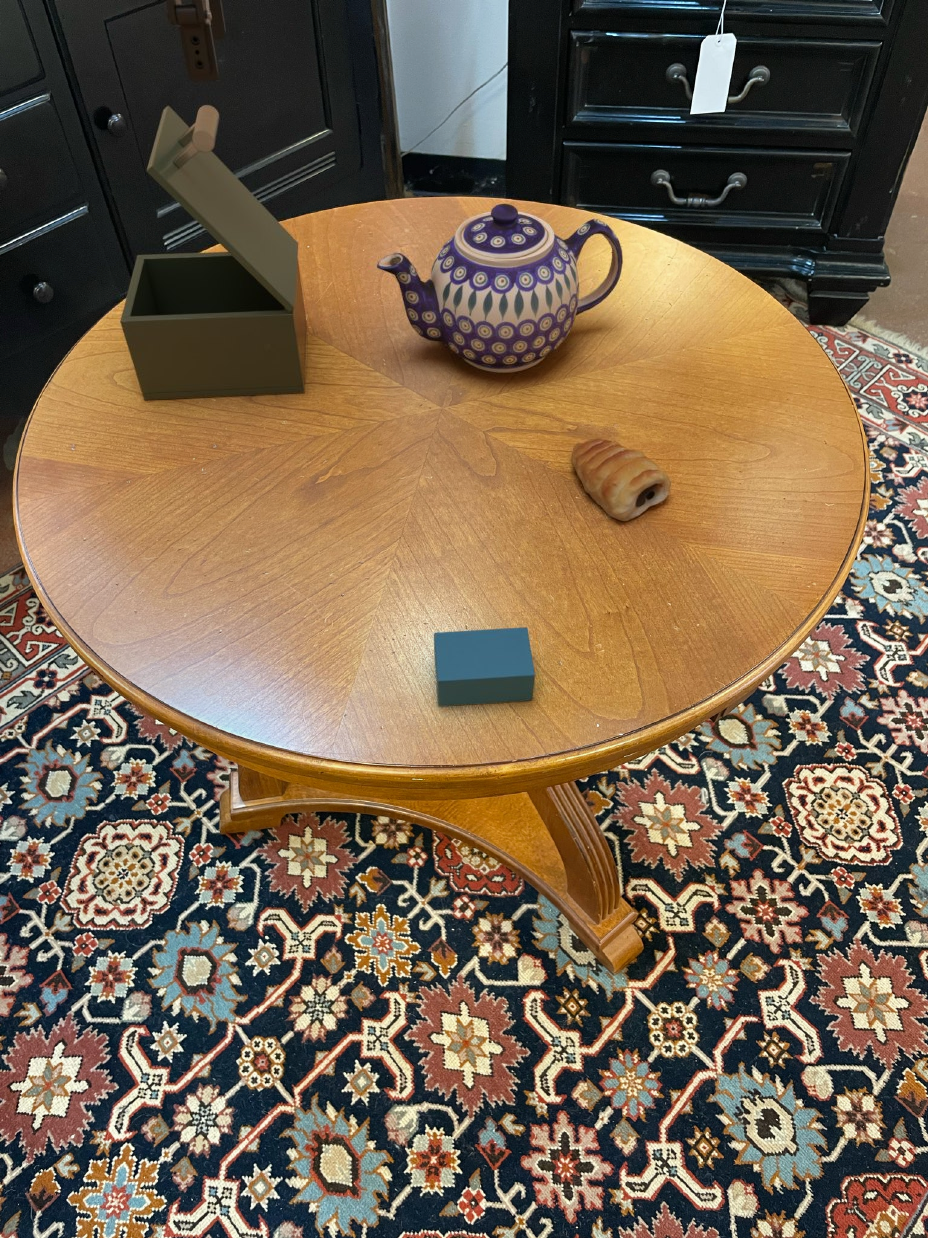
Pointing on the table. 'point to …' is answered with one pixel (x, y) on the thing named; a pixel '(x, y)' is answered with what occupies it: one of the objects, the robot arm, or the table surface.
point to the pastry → (619, 477)
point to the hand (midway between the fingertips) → (208, 58)
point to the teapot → (502, 288)
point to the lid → (223, 202)
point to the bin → (211, 329)
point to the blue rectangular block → (483, 666)
